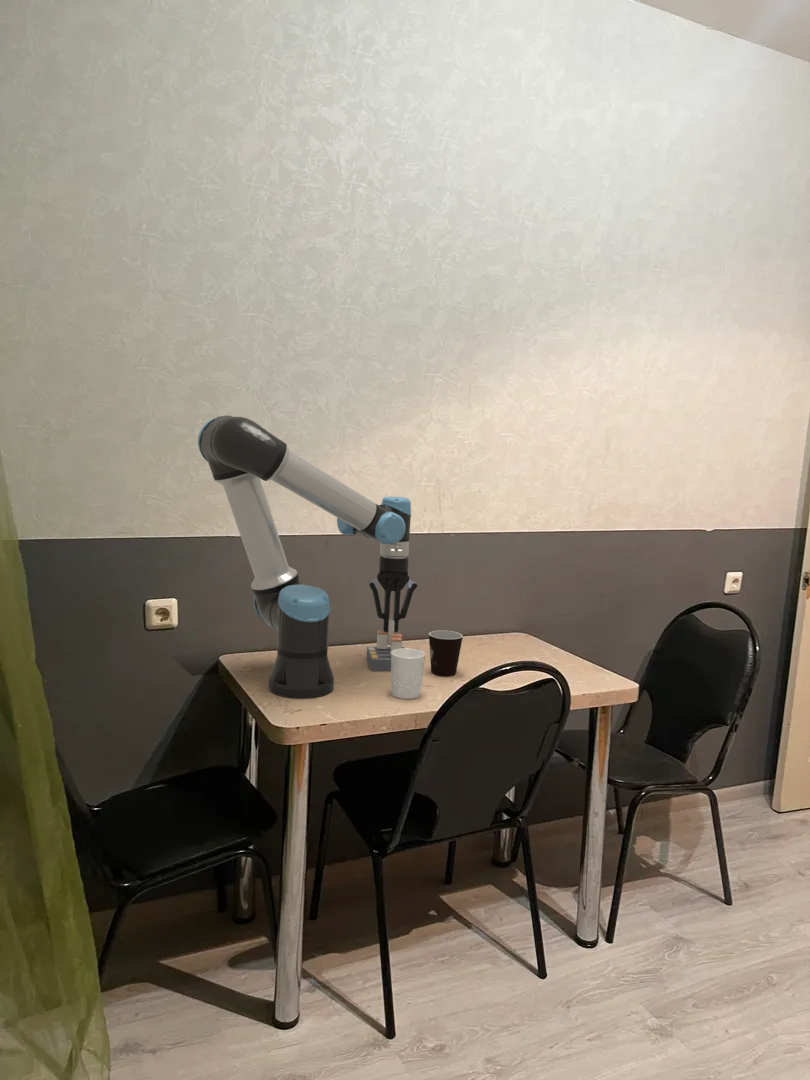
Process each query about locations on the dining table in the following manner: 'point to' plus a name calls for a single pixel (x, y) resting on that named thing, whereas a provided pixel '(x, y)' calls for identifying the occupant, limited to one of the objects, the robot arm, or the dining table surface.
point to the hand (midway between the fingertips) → (389, 643)
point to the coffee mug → (444, 652)
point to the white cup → (406, 673)
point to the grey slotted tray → (379, 659)
